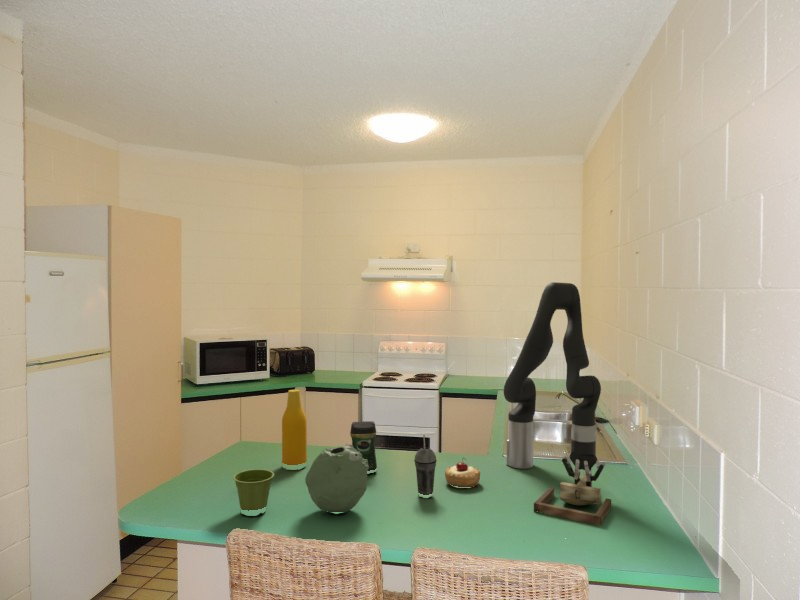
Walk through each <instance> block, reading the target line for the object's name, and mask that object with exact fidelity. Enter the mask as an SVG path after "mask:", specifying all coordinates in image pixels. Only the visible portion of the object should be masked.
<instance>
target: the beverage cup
mask: <svg viewBox="0 0 800 600" xmlns="http://www.w3.org/2000/svg"><path fill="white" fill-rule="evenodd" d="M422 438H423V440H422V441H423V447H421V448H420V449H418V450H417V452H416V453H415V455H414V460H413V461H414V466H415V471H416V484H417V493H420V494H423V495H429V494H432V493H434V484H435V471H436V465H437V457H436V456H437V455H436V453H435V451H433V450H432V449H431V448H430V447H426V437H425V434H423V437H422Z"/></svg>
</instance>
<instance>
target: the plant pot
mask: <svg viewBox="0 0 800 600" xmlns="http://www.w3.org/2000/svg"><path fill="white" fill-rule="evenodd" d="M274 477H275V473H274V472H273V471H272V470H269V469H263V468H262V469H261V468H257V469H256V468H255V469H252V468H251V469H245V470H243V471H239V472H237V473H235V474H234V475H233V477H232V478H233V480H234V481H235V486H236V489H237V495H238V503H239V509H240V508H241V509H242V510H248V511H249V510H258V509H262V508H264V507H266V506H267V507H268V502H269V501H268V500H269V495H270V489H271V484H272V482H273V481H272V480H273V478H274ZM241 509H240V510H241Z"/></svg>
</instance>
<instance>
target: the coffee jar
mask: <svg viewBox="0 0 800 600" xmlns="http://www.w3.org/2000/svg"><path fill="white" fill-rule="evenodd" d="M349 434H350V435H349V436H350V438H351V445H353V448H355V449H356V450H357V451H360V453H361V454H362V458H364V459H367V460H368V466H369V469H368V471H370V470H375V469H376V468H377V469H378V464H377V457H376V456H377V455H376V445H375V444H376V443H375V438H376V436H377V428H376V423H375V421H370V420H369V421H366V420H365V421H353V422H352V423H351V426H350V433H349Z"/></svg>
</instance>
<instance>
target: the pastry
mask: <svg viewBox="0 0 800 600" xmlns="http://www.w3.org/2000/svg"><path fill="white" fill-rule="evenodd" d="M464 460H465V461H467V459H466V458H464V457H462V462H460V461H459V462H457V463H456V465H451V466H448V467H447V468H446V469H445V471H444V476H445V481H446V483H447V482H448V483H449V484H451V485H453V486H458V487H473V486H476V485H477V486H478V484H479V482H480V478H481V471H480V470H479V469H478V468H476V467H475V466H471V465H470V466H468V463H465V462H464ZM448 483H447V484H448ZM449 484H448V485H449ZM477 486H476V487H477Z"/></svg>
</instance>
